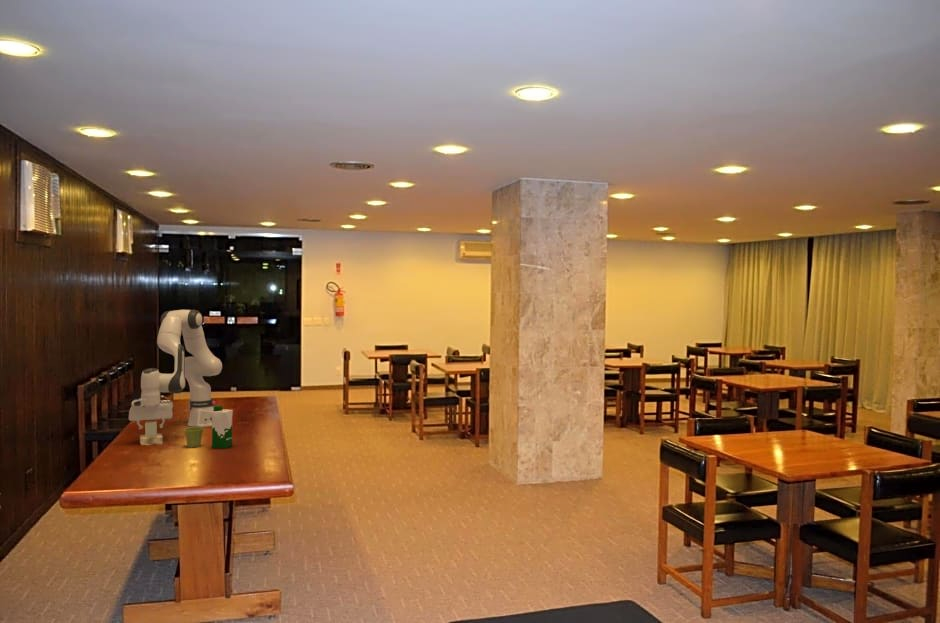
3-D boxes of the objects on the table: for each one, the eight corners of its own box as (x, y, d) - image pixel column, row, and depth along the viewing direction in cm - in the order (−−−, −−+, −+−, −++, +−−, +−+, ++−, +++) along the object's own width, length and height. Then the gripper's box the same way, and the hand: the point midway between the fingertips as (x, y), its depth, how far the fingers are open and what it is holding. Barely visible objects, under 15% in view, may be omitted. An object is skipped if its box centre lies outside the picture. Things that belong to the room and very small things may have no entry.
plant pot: (179, 447, 348) (179, 429, 348) (194, 443, 357) (194, 426, 356) (192, 449, 344) (192, 431, 344) (208, 445, 352) (208, 428, 352)
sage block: (156, 434, 361) (156, 421, 361) (156, 436, 356) (156, 422, 356) (146, 435, 359) (146, 421, 359) (145, 437, 355) (145, 423, 354)
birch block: (161, 441, 365) (161, 433, 364) (162, 444, 356) (162, 436, 356) (139, 443, 360) (139, 435, 360) (140, 446, 351) (140, 438, 351)
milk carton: (218, 444, 354) (218, 404, 353) (235, 445, 352) (235, 405, 351) (209, 448, 345) (208, 407, 345) (225, 449, 343) (225, 408, 343)
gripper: (173, 399, 364) (173, 425, 364) (129, 401, 356) (129, 428, 357) (172, 400, 358) (173, 428, 359) (128, 403, 351) (128, 431, 351)
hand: (151, 428), depth 358 cm, fingers open, 8 cm apart
